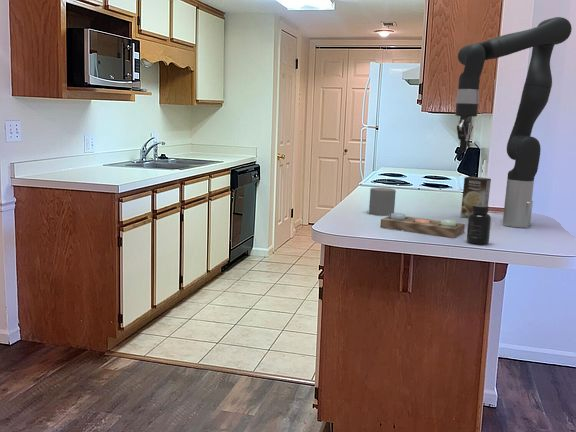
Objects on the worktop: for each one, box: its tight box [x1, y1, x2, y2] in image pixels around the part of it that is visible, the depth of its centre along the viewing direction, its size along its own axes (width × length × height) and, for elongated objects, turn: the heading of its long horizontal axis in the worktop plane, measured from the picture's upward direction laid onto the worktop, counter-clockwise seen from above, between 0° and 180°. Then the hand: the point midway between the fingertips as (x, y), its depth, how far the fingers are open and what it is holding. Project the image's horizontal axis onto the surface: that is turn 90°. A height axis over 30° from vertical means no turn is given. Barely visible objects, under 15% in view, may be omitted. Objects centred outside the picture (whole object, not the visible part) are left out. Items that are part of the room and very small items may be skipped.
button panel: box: [379, 215, 466, 239], centre depth 201 cm, size 26×12×3 cm, turn 58°
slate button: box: [391, 212, 406, 220], centre depth 205 cm, size 5×5×3 cm
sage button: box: [440, 218, 457, 227], centre depth 196 cm, size 5×5×3 cm
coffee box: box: [460, 175, 492, 219], centre depth 229 cm, size 9×6×16 cm
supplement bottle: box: [466, 205, 492, 246], centre depth 183 cm, size 7×7×12 cm
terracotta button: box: [415, 218, 431, 224], centre depth 201 cm, size 5×5×3 cm
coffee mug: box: [368, 186, 397, 217], centre depth 233 cm, size 13×10×10 cm
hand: (462, 151), depth 208 cm, fingers closed
